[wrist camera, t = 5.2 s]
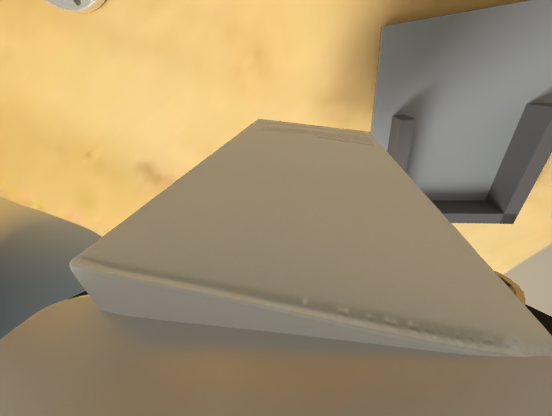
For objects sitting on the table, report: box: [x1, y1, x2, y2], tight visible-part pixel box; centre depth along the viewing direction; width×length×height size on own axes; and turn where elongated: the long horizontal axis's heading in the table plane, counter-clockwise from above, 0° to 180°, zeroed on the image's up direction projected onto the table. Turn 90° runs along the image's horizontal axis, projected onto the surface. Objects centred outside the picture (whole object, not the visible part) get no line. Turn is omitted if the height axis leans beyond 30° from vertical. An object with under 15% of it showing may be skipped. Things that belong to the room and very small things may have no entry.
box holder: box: [371, 0, 552, 224], centre depth 20 cm, size 19×16×4 cm
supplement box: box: [69, 119, 552, 357], centre depth 10 cm, size 7×7×13 cm
